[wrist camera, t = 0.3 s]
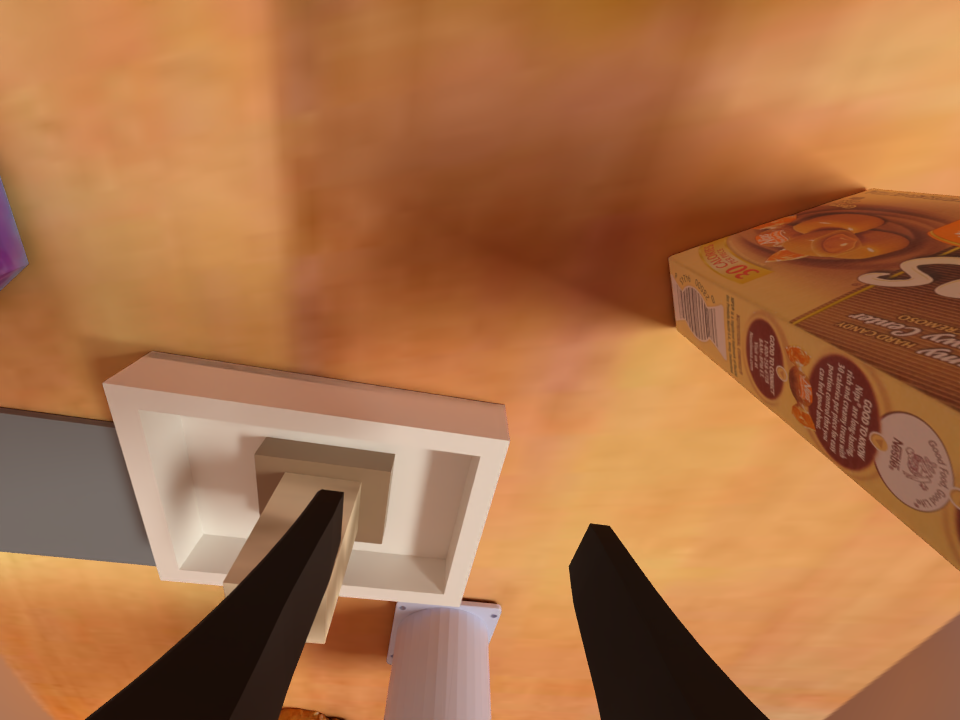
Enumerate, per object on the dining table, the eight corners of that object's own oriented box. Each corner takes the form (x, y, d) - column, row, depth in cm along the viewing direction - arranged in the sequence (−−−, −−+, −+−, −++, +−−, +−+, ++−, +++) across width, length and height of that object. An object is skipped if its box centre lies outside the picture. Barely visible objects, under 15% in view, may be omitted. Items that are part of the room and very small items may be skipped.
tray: (460, 563, 28) (459, 607, 25) (191, 536, 26) (160, 580, 23) (504, 405, 22) (510, 441, 19) (151, 350, 19) (102, 382, 17)
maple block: (357, 530, 23) (324, 643, 18) (287, 522, 23) (232, 636, 17) (361, 481, 21) (326, 592, 16) (284, 472, 21) (222, 582, 16)
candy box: (673, 332, 20) (1116, 732, 6) (662, 252, 18) (1268, 581, 4) (863, 270, 18) (1937, 608, 5) (874, 177, 16) (2681, 315, 3)
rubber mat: (182, 562, 27) (178, 568, 27) (-13, 544, 26) (-19, 549, 25) (149, 427, 22) (144, 431, 21) (-102, 393, 20) (-112, 398, 20)
